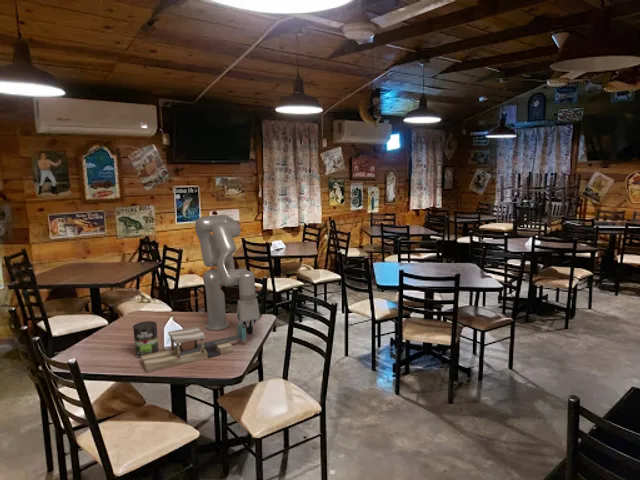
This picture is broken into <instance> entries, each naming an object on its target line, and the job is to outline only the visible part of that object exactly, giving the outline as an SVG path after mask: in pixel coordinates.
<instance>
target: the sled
mask: <svg viewBox="0 0 640 480" xmlns="http://www.w3.org/2000/svg"><path fill="white" fill-rule="evenodd" d="M236 327H237V328H236V329H237V335H232V336H228V337H222V338H223V339H219V338H218V339H219V340H215V339H213V340H214V341H212V340H211V341H210V340H209V341H206V342H205V341H204V347H207V346H212V345H216V344H220V343H225V342H229V343H230V342H232V341H238V340H241V341H246V340H247V333H246V326H245V325H244V324H236ZM179 346H180V349H181V345H180V344H179ZM194 347H195V348H194V349H190V350H185V351H181V350H180V356H181V355H185V354H190V353H194V352H198V351H200V348H201V343H200V344H196V343H195V342H194ZM175 348H176V350H177V345H176V346H175Z"/></svg>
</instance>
